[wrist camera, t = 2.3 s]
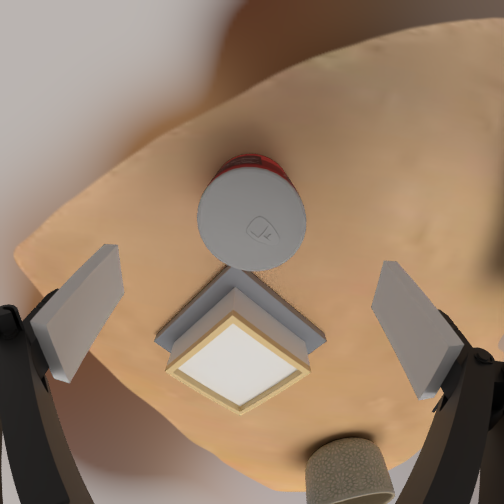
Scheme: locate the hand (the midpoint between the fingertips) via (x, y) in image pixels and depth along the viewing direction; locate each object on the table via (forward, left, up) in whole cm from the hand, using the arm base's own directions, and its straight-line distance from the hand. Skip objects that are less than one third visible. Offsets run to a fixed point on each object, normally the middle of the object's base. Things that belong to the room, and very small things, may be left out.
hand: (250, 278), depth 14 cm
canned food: (0, 0, -19) cm, 19 cm away
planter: (+25, +50, -19) cm, 59 cm away
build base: (+15, +12, -19) cm, 27 cm away
